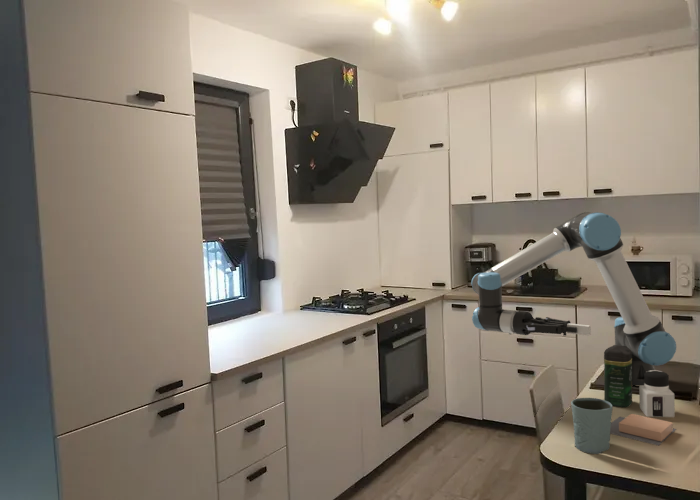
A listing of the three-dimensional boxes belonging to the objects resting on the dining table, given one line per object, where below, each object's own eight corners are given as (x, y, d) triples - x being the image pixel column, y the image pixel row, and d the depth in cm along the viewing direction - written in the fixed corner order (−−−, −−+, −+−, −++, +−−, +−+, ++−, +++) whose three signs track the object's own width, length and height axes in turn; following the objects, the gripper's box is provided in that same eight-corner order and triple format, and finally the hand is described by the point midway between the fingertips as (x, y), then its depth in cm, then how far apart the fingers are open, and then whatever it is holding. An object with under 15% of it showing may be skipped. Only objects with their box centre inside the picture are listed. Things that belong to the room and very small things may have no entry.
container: (675, 419, 171) (674, 376, 170) (646, 418, 172) (646, 375, 171) (666, 409, 178) (665, 368, 177) (639, 409, 180) (638, 368, 179)
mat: (619, 418, 174) (619, 416, 174) (676, 431, 162) (676, 429, 162) (599, 433, 164) (599, 430, 164) (658, 447, 153) (658, 445, 153)
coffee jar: (629, 410, 179) (628, 351, 178) (602, 406, 184) (601, 349, 182) (634, 400, 187) (633, 344, 186) (608, 397, 192) (607, 342, 190)
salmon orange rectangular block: (631, 413, 168) (672, 422, 161) (631, 422, 169) (672, 431, 161) (618, 422, 162) (661, 432, 154) (619, 431, 162) (661, 442, 155)
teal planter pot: (566, 448, 155) (565, 405, 154) (580, 436, 163) (579, 394, 162) (605, 458, 148) (604, 412, 147) (618, 444, 156) (617, 401, 155)
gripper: (528, 329, 192) (599, 338, 175) (507, 338, 183) (580, 348, 166) (527, 307, 192) (598, 314, 175) (506, 314, 183) (579, 322, 166)
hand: (589, 330), depth 170 cm, fingers closed
